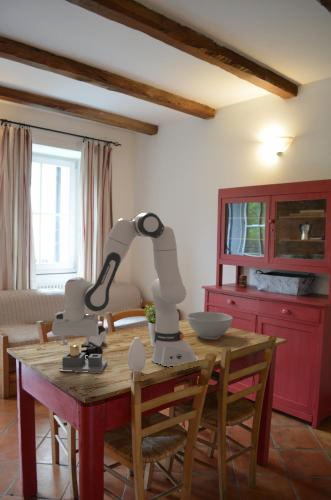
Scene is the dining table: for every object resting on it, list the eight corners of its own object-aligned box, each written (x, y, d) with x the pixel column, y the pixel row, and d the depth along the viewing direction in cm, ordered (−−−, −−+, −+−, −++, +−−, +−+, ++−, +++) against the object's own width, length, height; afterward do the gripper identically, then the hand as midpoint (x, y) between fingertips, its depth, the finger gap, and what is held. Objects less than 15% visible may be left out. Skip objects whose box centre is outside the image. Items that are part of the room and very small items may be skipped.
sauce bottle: (145, 369, 171) (146, 329, 171) (145, 376, 164) (146, 334, 163) (127, 369, 171) (128, 329, 170) (126, 376, 163) (127, 333, 163)
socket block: (106, 363, 178) (107, 352, 178) (101, 373, 166) (101, 360, 166) (68, 362, 179) (68, 350, 179) (59, 371, 167) (59, 358, 167)
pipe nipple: (80, 362, 175) (80, 344, 174) (77, 365, 171) (77, 347, 170) (71, 362, 175) (71, 344, 175) (68, 365, 171) (68, 347, 171)
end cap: (102, 359, 184) (103, 345, 184) (88, 362, 180) (89, 347, 180) (94, 354, 193) (94, 340, 192) (80, 356, 189) (80, 342, 189)
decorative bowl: (179, 333, 237) (179, 313, 236) (216, 329, 248) (216, 310, 248) (201, 344, 212) (201, 322, 212) (241, 340, 224) (242, 319, 223)
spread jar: (99, 340, 217) (99, 319, 216) (111, 344, 209) (111, 323, 208) (80, 344, 208) (81, 323, 208) (92, 349, 200) (93, 326, 200)
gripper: (99, 313, 175) (100, 343, 175) (55, 312, 176) (55, 342, 176) (96, 316, 168) (97, 347, 169) (50, 315, 169) (50, 346, 170)
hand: (75, 345), depth 173 cm, fingers open, 8 cm apart
